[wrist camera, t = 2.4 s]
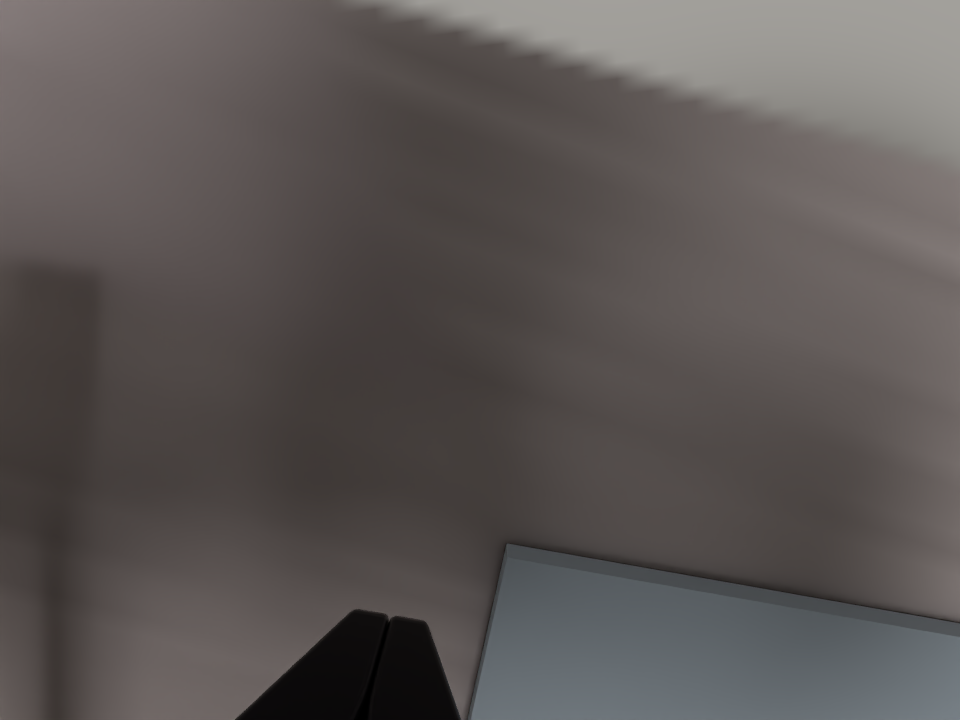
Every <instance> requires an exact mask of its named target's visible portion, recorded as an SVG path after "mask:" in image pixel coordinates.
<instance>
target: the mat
mask: <svg viewBox="0 0 960 720" xmlns="http://www.w3.org/2000/svg"><path fill="white" fill-rule="evenodd" d="M467 720H960V623H955V622H949V621H943V620H938V619H932V618H926V617H921V616H915V615H909V614H904V613H898V612H892V611H887V610H881V609H875V608H870V607H864V606H858V605H853V604H847V603H841V602H836V601H830V600H824V599H819V598H813V597H807V596H802V595H796V594H790V593H785V592H779V591H773V590H768V589H762V588H756V587H751V586H745V585H740V584H734V583H728V582H723V581H717V580H711V579H706V578H700V577H694V576H689V575H683V574H677V573H672V572H666V571H660V570H655V569H649V568H643V567H638V566H632V565H626V564H621V563H615V562H609V561H604V560H598V559H592V558H587V557H581V556H575V555H570V554H564V553H558V552H553V551H547V550H541V549H536V548H530V547H524V546H519V545H513V544H506V549H505V553H504V558H503V562H502V567H501V571H500V576H499V580H498V585H497V589H496V594H495V598H494V603H493V607H492V612H491V616H490V621H489V625H488V630H487V634H486V639H485V643H484V648H483V652H482V657H481V661H480V666H479V670H478V675H477V679H476V683H475V688H474V692H473V697H472V701H471V706H470V710H469V715H468V719H467Z"/></svg>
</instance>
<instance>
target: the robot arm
mask: <svg viewBox="0 0 960 720" xmlns="http://www.w3.org/2000/svg"><path fill="white" fill-rule="evenodd" d="M235 720H461V718H460V715H459V712H458V709H457V707H456V704H455V701H454V698H453V695H452V692H451V689H450V686H449V684H448V681H447V678H446V675H445V672H444V669H443V666H442V663H441V661H440V658H439V655H438V652H437V649H436V646H435V643H434V641H433V638H432V635H431V632H430V629H429V627H428V625H427V623H426V622H425V621H423V620H418V619H413V618H407V617H401V616H394V617H392V618H391V619H390V621H389V618H388V616H387V615H386V614H384V613H378V612H372V611H367V610H361V609H355V610H353V611H351V612H350V613H349V614H348V615H347V616H346V617H344V618H343V619H342V620H341V621H340V622H339V623H338V624H337V625H336V626H335V627H334V628H333V629H332V630H331V631H329V632H328V633H327V634H326V635H325V636H324V637H323V638H322V639H321V640H320V641H319V642H318V643H317V644H316V645H315V646H313V647H312V648H311V649H310V650H309V651H308V652H307V653H306V654H305V655H304V656H303V657H302V658H301V659H300V660H298V661H297V662H296V663H295V664H294V665H293V666H292V667H291V668H290V669H289V670H288V671H287V672H286V673H285V674H283V675H282V676H281V677H280V678H279V679H278V680H277V681H276V682H275V683H274V684H273V685H272V686H271V687H270V688H268V689H267V690H266V691H265V692H264V693H263V694H262V695H261V696H260V697H259V698H258V699H257V700H256V701H255V702H253V703H252V704H251V705H250V706H249V707H248V708H247V709H246V710H245V711H244V712H243V713H242V714H241V715H240V716H238V717H237V718H236V719H235Z"/></svg>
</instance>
